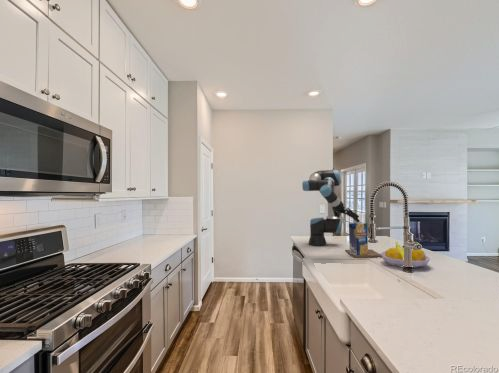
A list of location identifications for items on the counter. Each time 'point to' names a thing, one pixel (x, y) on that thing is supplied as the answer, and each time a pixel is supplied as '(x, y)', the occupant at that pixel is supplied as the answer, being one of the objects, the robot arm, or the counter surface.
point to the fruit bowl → (397, 256)
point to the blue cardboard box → (358, 238)
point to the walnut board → (370, 254)
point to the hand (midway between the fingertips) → (352, 223)
